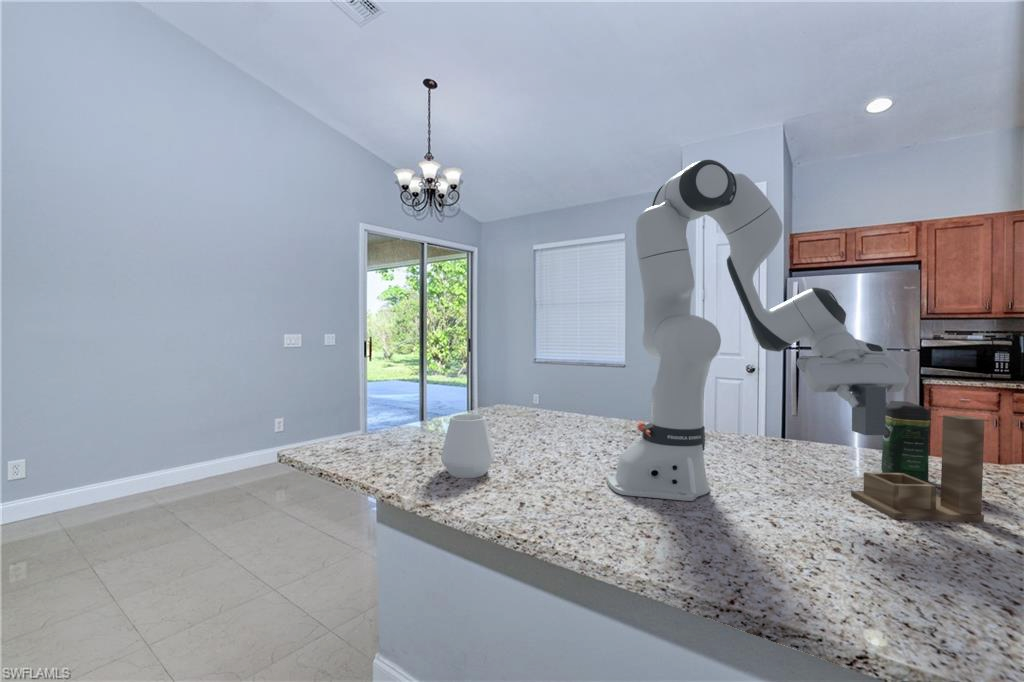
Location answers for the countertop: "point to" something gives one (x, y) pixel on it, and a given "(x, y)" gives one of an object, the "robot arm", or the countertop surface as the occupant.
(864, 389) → the dark grey square peg
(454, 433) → the cup
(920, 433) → the coffee jar
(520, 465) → the countertop surface
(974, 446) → the wooden peg slot stand
